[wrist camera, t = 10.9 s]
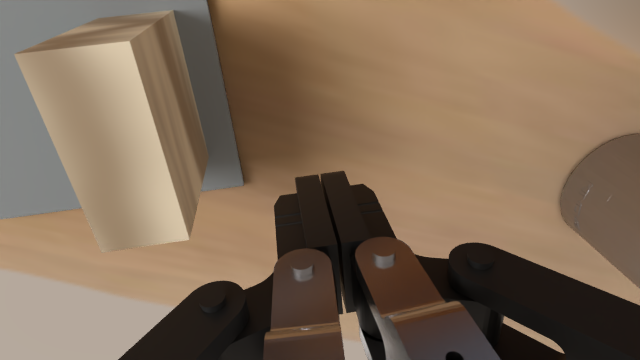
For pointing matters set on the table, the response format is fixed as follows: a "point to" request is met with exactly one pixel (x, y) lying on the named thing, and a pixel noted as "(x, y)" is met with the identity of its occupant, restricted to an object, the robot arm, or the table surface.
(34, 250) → the table surface
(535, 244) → the table surface
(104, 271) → the table surface
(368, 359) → the robot arm
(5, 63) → the mat
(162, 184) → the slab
